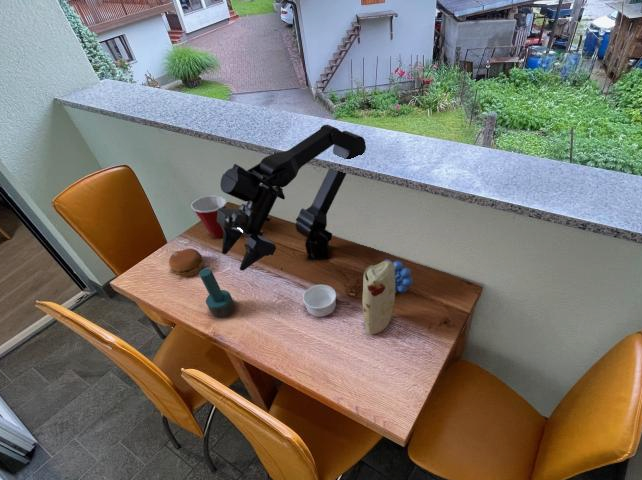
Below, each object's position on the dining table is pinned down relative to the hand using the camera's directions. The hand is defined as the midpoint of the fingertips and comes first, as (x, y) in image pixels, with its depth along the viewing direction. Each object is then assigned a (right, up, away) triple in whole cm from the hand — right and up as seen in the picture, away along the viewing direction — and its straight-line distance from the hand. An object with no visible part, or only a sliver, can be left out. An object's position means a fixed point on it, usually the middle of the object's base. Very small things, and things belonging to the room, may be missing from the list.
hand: (232, 261), depth 89 cm
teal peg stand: (-5, -13, +6) cm, 15 cm away
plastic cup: (-16, +13, +31) cm, 37 cm away
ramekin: (+22, -12, +7) cm, 26 cm away
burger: (-21, 0, +19) cm, 28 cm away
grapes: (+42, -7, +10) cm, 44 cm away
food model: (+38, -17, +2) cm, 41 cm away
